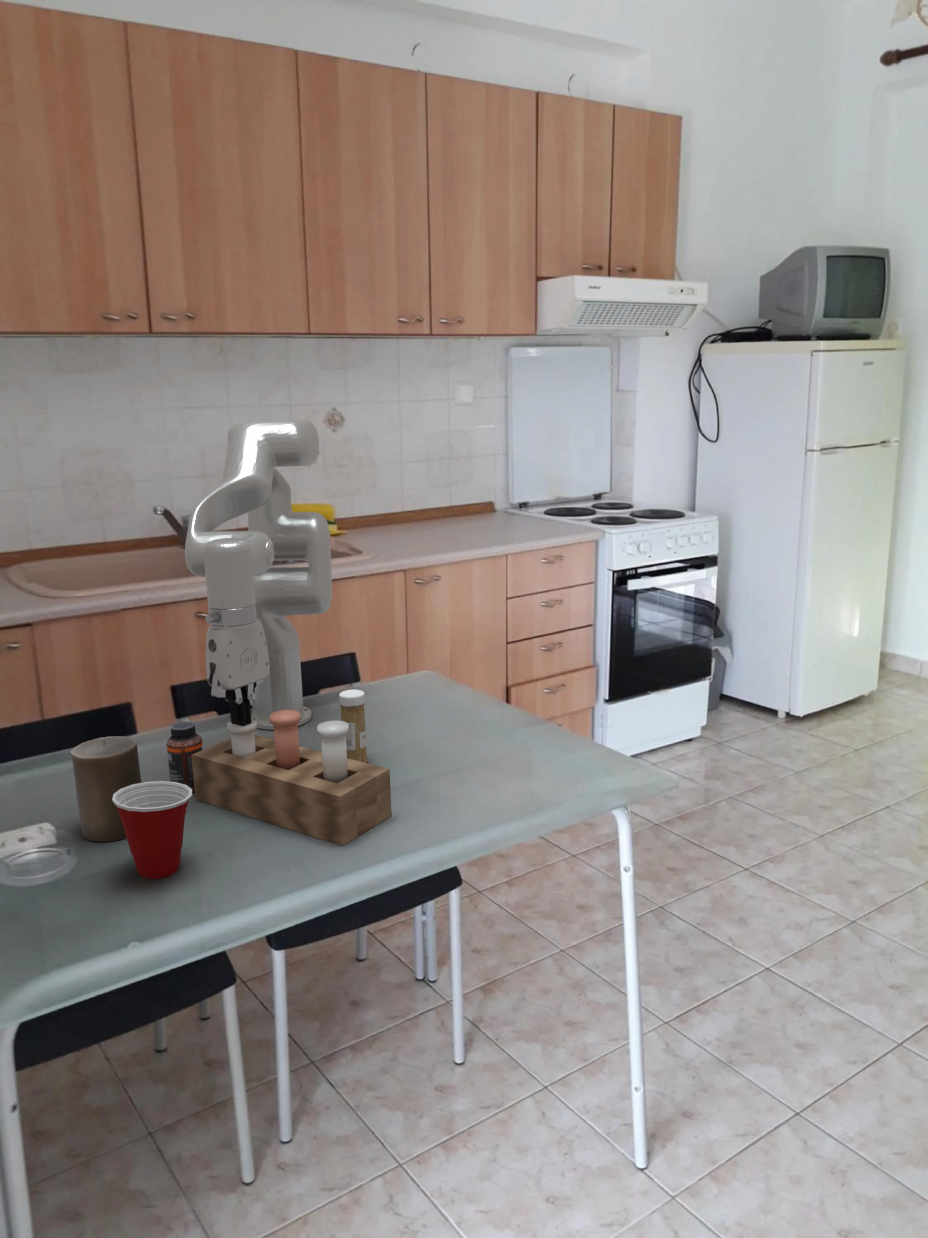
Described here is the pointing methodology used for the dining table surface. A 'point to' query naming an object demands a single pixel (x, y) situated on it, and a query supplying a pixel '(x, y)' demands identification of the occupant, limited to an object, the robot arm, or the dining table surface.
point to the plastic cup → (154, 824)
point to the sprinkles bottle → (354, 723)
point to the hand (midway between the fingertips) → (241, 723)
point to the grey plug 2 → (334, 750)
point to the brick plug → (286, 738)
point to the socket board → (293, 791)
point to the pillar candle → (103, 783)
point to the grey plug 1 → (242, 738)
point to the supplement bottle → (183, 752)
